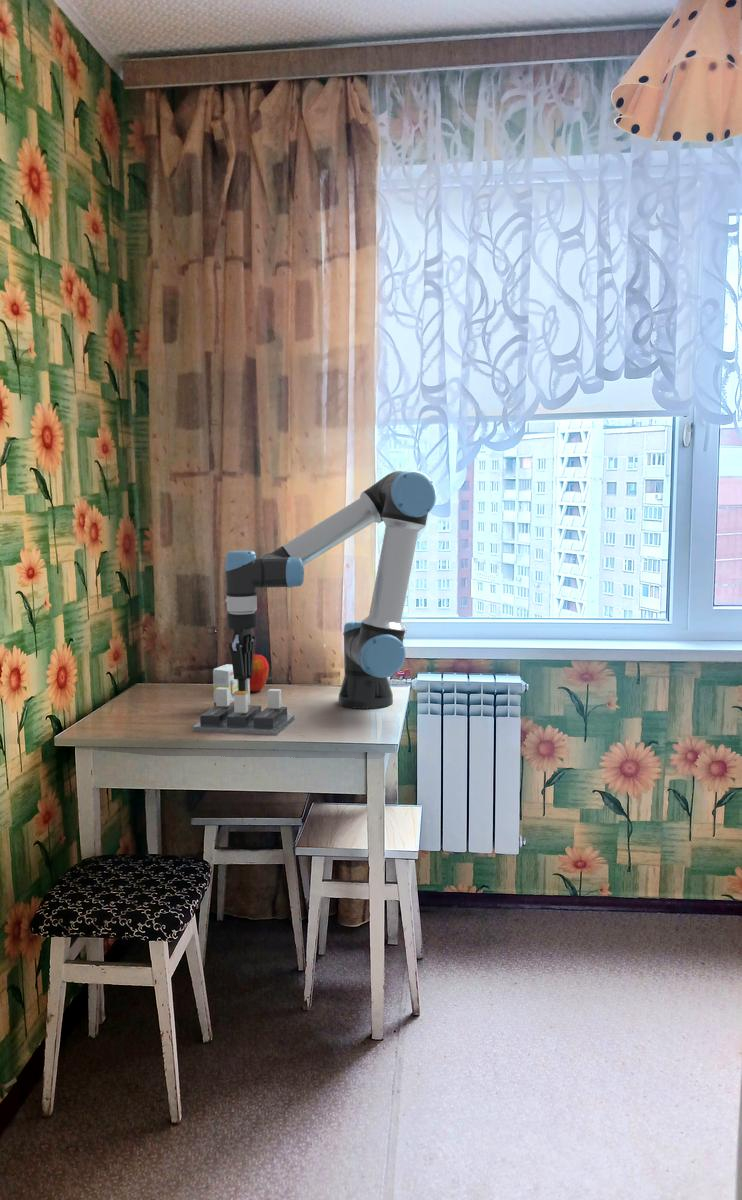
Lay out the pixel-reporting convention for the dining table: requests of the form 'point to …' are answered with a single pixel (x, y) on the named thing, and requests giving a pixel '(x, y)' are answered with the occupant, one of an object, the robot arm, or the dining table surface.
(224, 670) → the ink box
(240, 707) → the handle mid
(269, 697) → the handle
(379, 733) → the dining table surface
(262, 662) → the apple
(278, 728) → the panel
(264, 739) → the dining table surface
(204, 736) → the dining table surface
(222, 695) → the handle
